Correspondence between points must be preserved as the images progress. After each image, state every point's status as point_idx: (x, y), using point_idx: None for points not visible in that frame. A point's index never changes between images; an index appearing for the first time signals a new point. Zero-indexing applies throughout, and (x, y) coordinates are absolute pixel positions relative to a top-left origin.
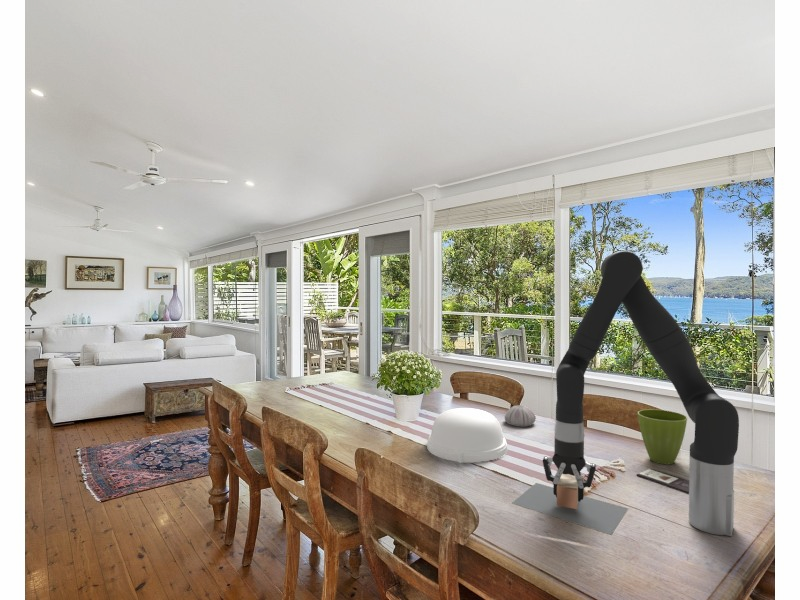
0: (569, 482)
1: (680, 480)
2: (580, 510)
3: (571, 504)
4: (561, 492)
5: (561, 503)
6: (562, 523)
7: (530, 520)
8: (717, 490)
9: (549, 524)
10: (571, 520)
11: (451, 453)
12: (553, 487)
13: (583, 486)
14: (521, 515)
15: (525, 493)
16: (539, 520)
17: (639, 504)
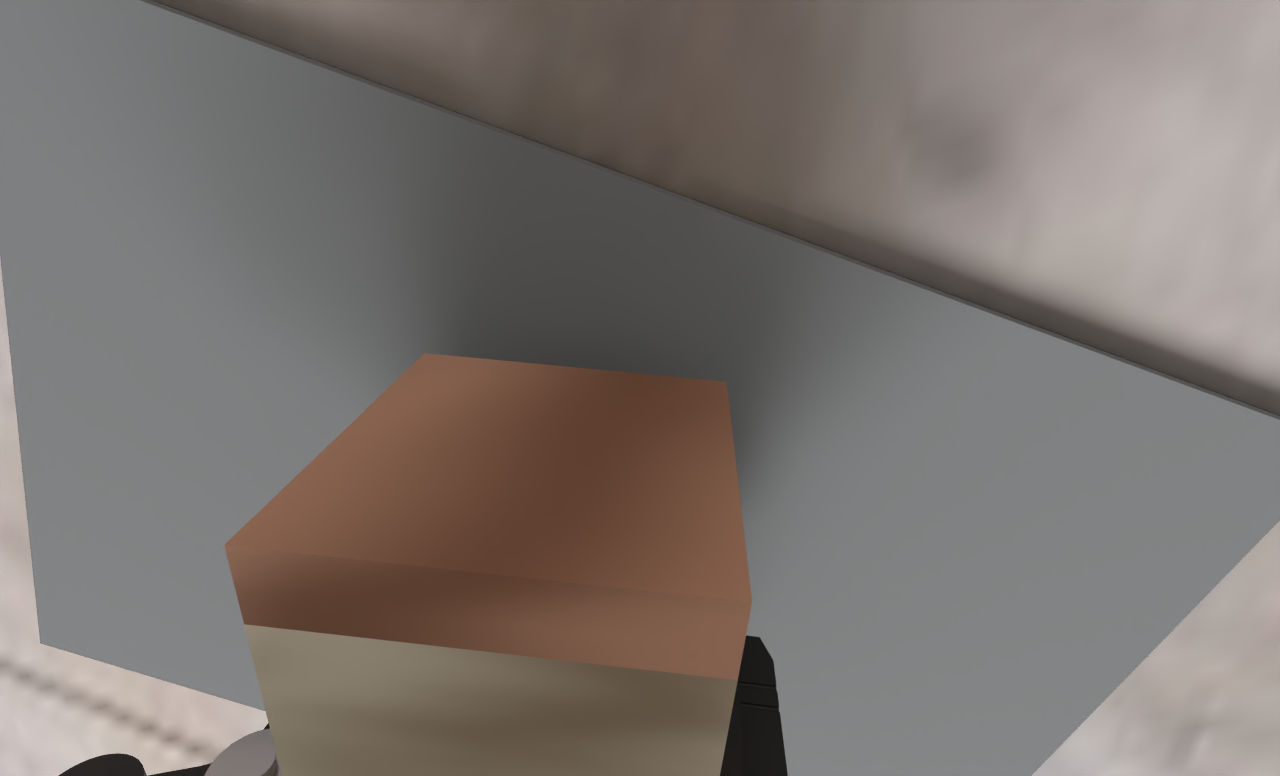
0: None
1: None
2: None
3: (488, 386)
4: (636, 507)
5: (652, 395)
6: (648, 116)
7: (1138, 34)
8: None
9: (840, 6)
10: (525, 191)
11: None
12: (782, 738)
13: (212, 770)
14: (1256, 160)
15: (1070, 709)
16: (984, 89)
17: (21, 735)
